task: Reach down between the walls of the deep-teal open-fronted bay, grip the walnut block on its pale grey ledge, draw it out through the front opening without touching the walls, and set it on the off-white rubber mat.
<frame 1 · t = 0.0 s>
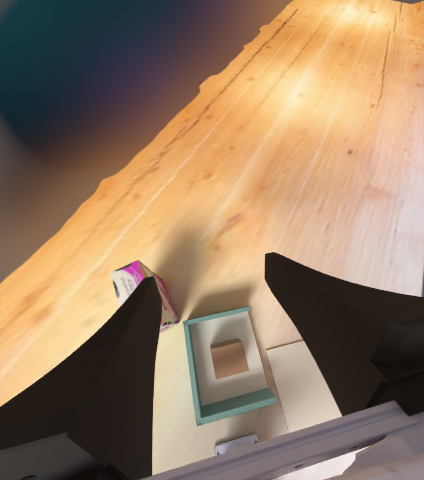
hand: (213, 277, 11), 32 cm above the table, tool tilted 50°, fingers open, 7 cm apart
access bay: (223, 352, 37), on the table
candy bar box: (161, 303, 41), on the table
walnut block: (226, 353, 35), point 2 cm above the table, touching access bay
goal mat: (313, 379, 35), on the table
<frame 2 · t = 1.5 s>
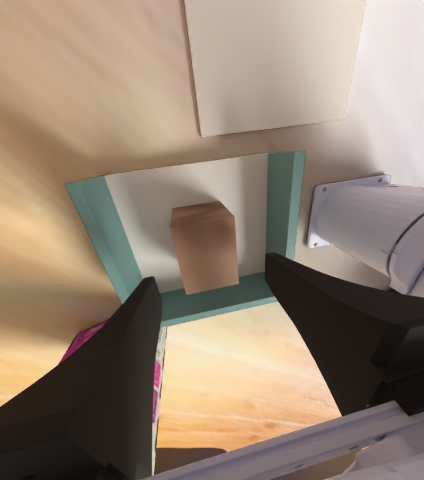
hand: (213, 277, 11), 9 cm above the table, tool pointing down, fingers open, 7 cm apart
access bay: (199, 230, 20), on the table
candy bar box: (123, 324, 24), on the table
walnut block: (201, 233, 18), point 2 cm above the table, touching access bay
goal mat: (278, 1, 13), on the table
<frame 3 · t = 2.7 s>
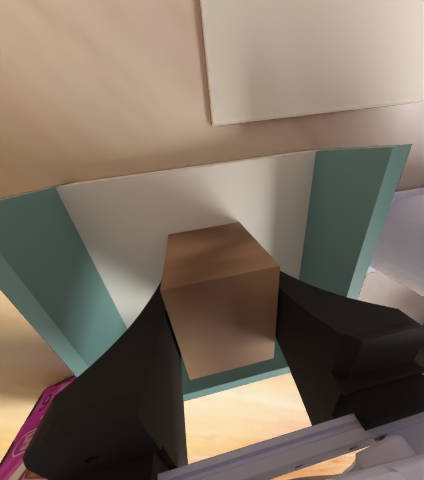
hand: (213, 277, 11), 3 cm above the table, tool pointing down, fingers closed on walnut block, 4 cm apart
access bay: (207, 258, 14), on the table
candy bar box: (106, 374, 18), on the table
walnut block: (210, 267, 12), point 2 cm above the table, touching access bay, gripper
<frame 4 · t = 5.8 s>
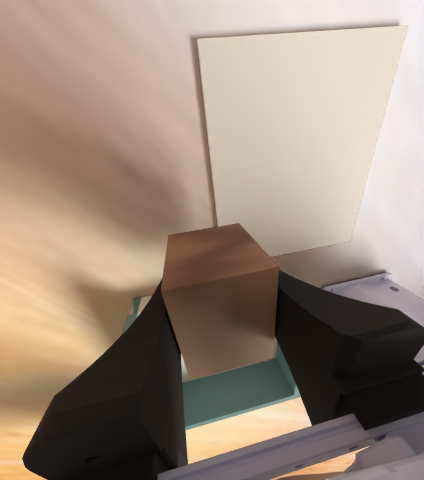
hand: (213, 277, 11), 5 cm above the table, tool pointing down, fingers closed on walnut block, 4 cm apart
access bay: (216, 327, 21), on the table
walnut block: (210, 267, 12), point 4 cm above the table, touching gripper
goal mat: (293, 170, 15), on the table
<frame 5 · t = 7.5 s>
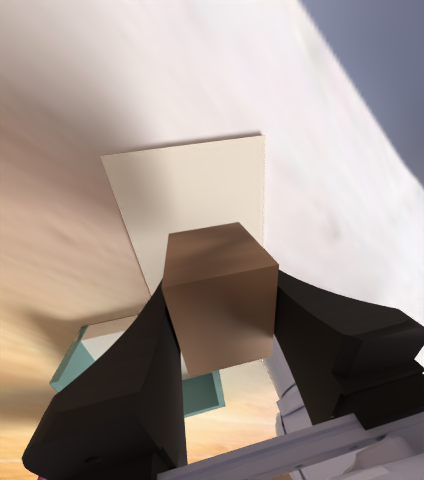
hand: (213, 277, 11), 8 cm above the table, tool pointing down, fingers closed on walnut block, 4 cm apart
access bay: (159, 346, 25), on the table
walnut block: (209, 266, 12), point 7 cm above the table, touching gripper
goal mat: (199, 229, 18), on the table
when the fingers open (3 cm above the table, at t = 8.9 s): walnut block drops 1 cm, resting on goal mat.
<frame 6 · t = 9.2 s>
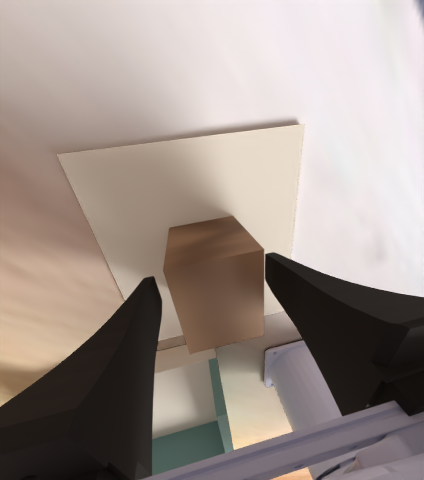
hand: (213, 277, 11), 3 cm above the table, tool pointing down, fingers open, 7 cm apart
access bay: (155, 391, 20), on the table
walnut block: (207, 257, 13), resting on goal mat
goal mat: (206, 255, 14), on the table
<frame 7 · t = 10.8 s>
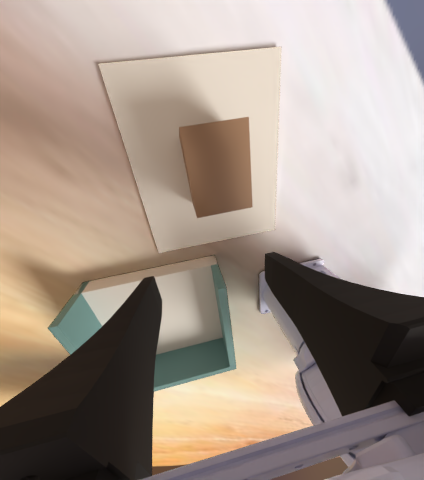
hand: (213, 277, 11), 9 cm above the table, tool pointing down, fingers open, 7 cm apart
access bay: (165, 309, 24), on the table
walnut block: (209, 168, 17), resting on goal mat
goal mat: (208, 167, 17), on the table
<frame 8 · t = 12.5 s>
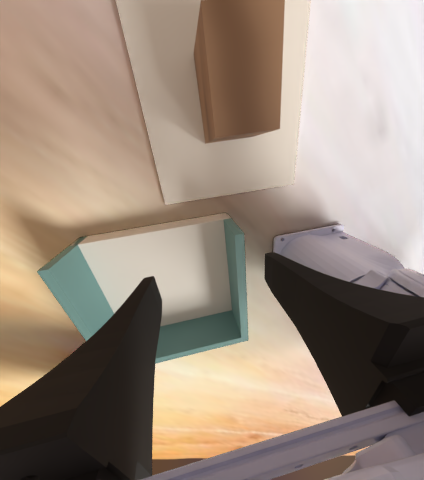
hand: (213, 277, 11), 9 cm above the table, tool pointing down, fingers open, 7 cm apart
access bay: (170, 276, 22), on the table
walnut block: (226, 99, 15), resting on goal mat
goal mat: (224, 100, 15), on the table
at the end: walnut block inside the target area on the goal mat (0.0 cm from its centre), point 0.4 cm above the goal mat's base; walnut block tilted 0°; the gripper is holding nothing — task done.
